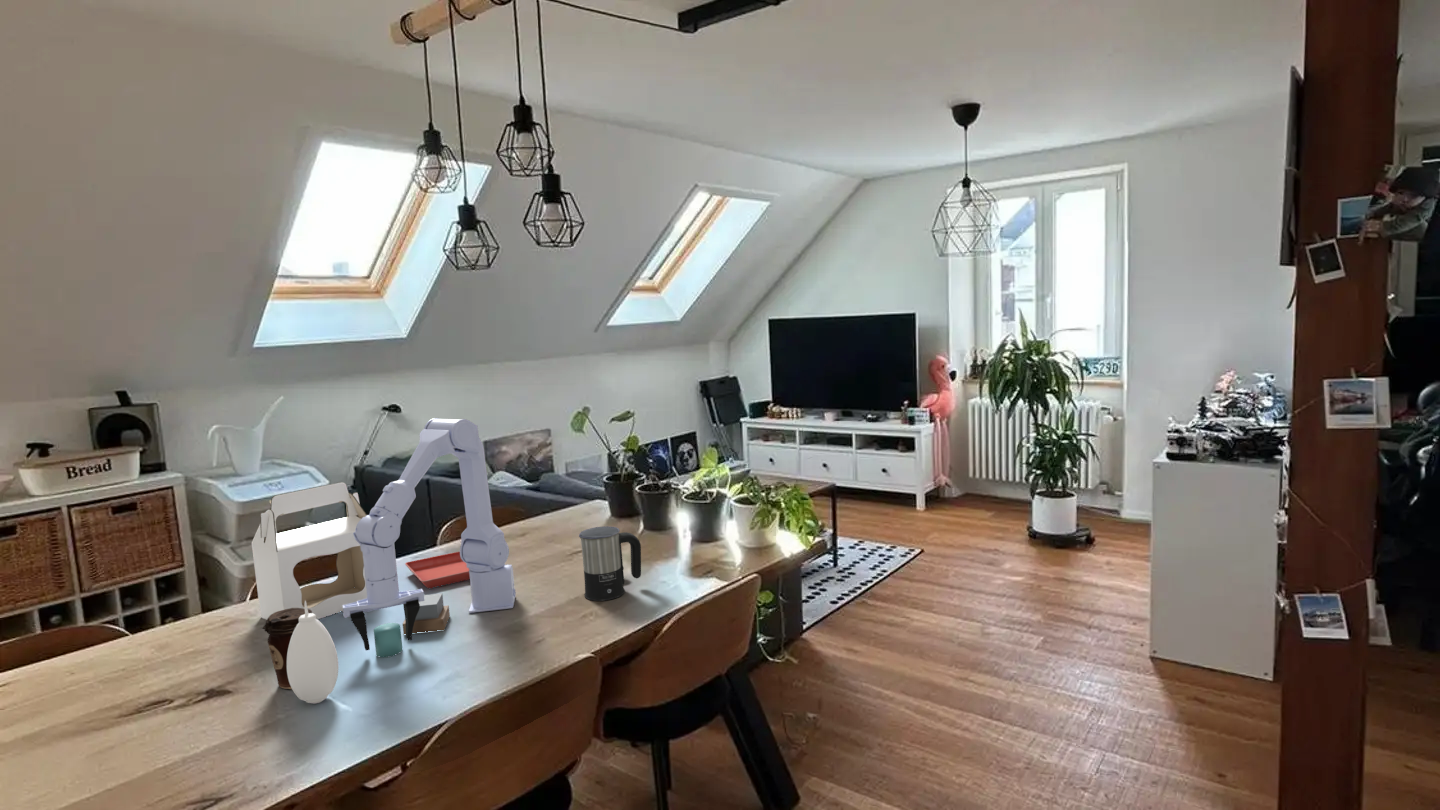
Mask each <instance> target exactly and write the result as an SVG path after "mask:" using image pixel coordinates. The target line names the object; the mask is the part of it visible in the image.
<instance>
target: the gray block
mask: <svg viewBox="0 0 1440 810" xmlns="http://www.w3.org/2000/svg"><path fill="white" fill-rule="evenodd" d="M419 604H420V608H419V611H418V614H417V616H416V619H415V620H424V619H433V618H438V617H439V615H440V613H441V611H442V609H443V607H444V606H445V605H444V595H443V592H441V593H432V594H424V601H421V602H419ZM405 622H406V621H405Z"/></svg>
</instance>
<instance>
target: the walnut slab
mask: <svg viewBox="0 0 1440 810" xmlns="http://www.w3.org/2000/svg"><path fill="white" fill-rule="evenodd" d="M450 615H451V614H450V606H449V605H444V607H443V609H442V611H441V613H440V615H439V617H438V618H433V619H424V620H415V622H414V626H413V631H412V633H417V632H425V631H426V632H428V631H437V630H444V629H446V628H447V625H448V622H449V620H448V619H450V617H451V616H450ZM449 616H450V617H449ZM447 621H448V622H447ZM446 624H447V625H446ZM445 627H446V628H445ZM402 631H403V632H402V633H403V635H404V634H406V622H405V619H404V620H403V622H402ZM444 631H445V630H444Z"/></svg>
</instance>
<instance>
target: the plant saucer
mask: <svg viewBox="0 0 1440 810" xmlns="http://www.w3.org/2000/svg"><path fill="white" fill-rule="evenodd" d="M404 565H405V566H406V567H407V568H408V569H409V570H410V572H411V573H412V574H413V575H414V576H415V577H416V578H417V579H418V580H419V582H421V584H423V586H425V587H426V588H427V589H429V588H430V589H434V588H433V587H435V588H438V587H437V586H439V587H442V586H441V585H444V586H447V585H446V584H448V585H452V584H455V582H457V583H460V581H461V582H464V580H465V581H470V580H469V579H470V575H469V568H467V565H466V563H465V562H464V561H463V560H462V559H461V557H460V551H455V552H450V553H446V554H440V555H436V556H431V557H426V558H421V559H416V560H411V561H407V562H405V563H404ZM451 583H452V584H451Z"/></svg>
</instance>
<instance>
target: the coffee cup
mask: <svg viewBox="0 0 1440 810" xmlns="http://www.w3.org/2000/svg"><path fill="white" fill-rule="evenodd" d="M308 613H312V611H311V610H310V609H308ZM304 614H305V609H303V608H289V609H285V610H281V611H277V612H275V613H273V614H271V615H270V616H269V617H268V619H267V620H266V619H265V624H264V625H263V626H262V630H264V632H266V633H267V634H268V638H267V646H268V650H269V653H270V657H271V663H272V665H273V670H274V672H275V675H276V679H277V684H278V686H279V688H282V689H284V690H292V688H291V686H290V683H289V680H288V675H287V652H288V647H289V643H290V639H291V637H292V634H293V632H294V629H295V628H296V626H297V624H298V623H299V617H300V616H301V615H304ZM316 619H317V618H316Z"/></svg>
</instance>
